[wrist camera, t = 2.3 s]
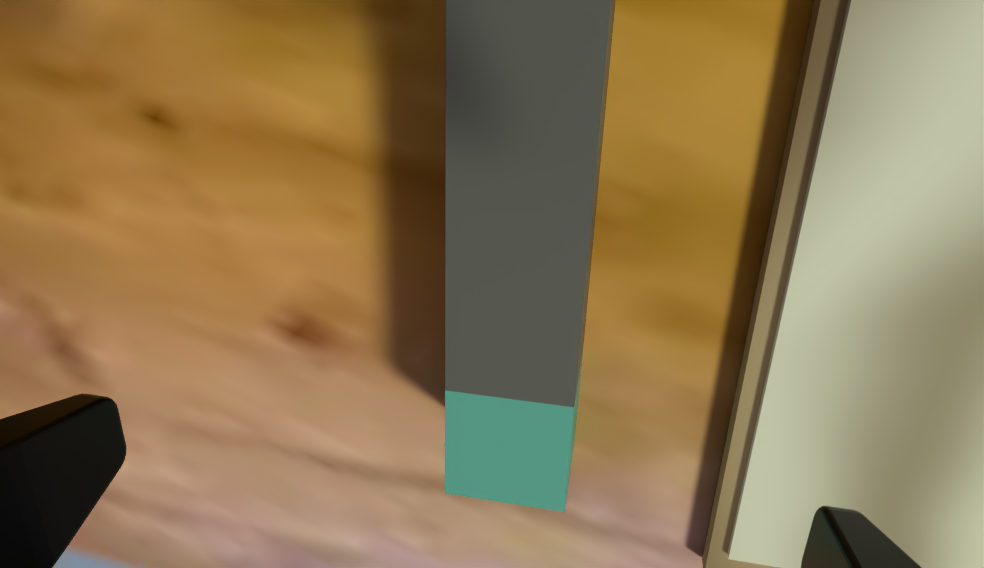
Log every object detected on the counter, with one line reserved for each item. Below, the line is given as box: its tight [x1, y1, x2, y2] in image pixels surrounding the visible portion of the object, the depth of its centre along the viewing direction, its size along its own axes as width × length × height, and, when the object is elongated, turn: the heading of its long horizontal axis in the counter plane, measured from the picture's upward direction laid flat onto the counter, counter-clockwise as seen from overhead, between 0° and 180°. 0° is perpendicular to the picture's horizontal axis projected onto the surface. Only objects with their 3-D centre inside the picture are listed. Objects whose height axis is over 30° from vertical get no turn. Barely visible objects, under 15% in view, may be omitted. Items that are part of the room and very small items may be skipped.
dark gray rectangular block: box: [445, 0, 615, 512], centre depth 16 cm, size 3×12×3 cm, turn 179°
